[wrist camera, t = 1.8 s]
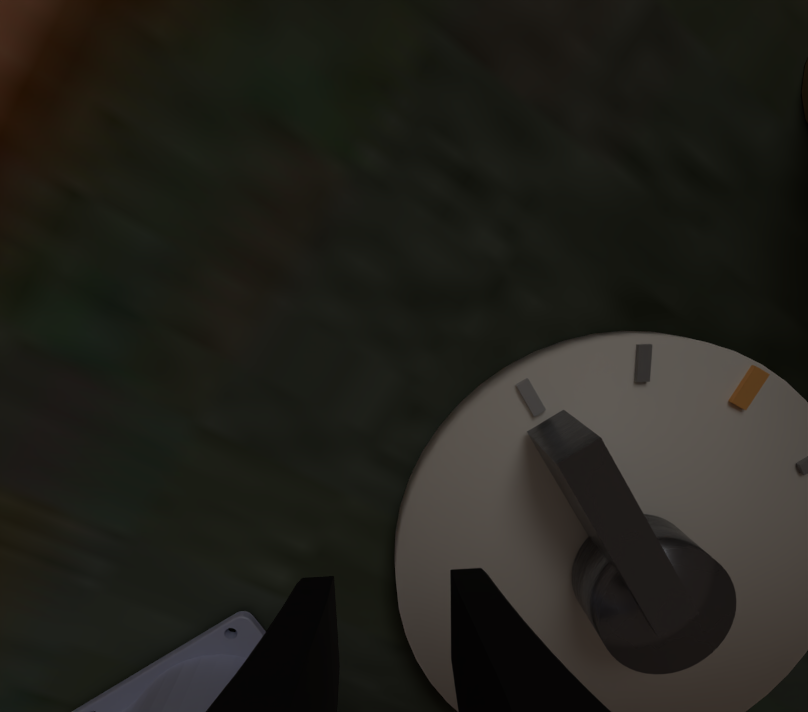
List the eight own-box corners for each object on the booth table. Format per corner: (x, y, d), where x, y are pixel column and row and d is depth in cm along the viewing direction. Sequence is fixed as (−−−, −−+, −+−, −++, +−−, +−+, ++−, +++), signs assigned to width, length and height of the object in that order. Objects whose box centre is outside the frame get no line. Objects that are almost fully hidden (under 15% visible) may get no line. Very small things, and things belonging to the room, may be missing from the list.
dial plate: (526, 794, 23) (538, 834, 22) (306, 487, 20) (300, 508, 18) (877, 596, 23) (917, 622, 21) (713, 239, 19) (746, 237, 17)
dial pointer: (712, 585, 20) (771, 641, 17) (606, 647, 20) (646, 712, 17) (603, 385, 18) (648, 409, 15) (487, 455, 18) (509, 492, 15)
